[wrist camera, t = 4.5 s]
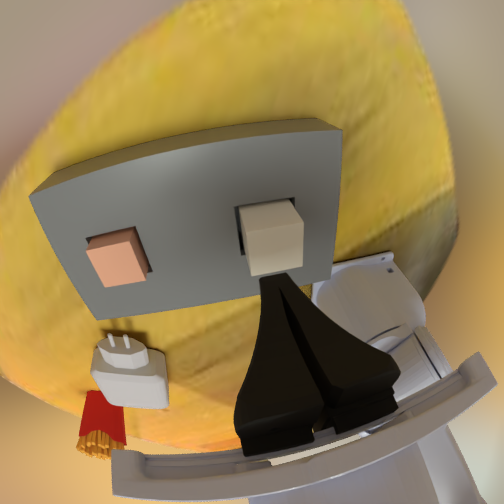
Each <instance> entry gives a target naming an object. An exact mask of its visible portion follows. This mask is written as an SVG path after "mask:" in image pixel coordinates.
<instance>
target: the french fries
mask: <svg viewBox="0 0 504 504" xmlns="http://www.w3.org/2000/svg"><path fill="white" fill-rule="evenodd" d="M79 436H80V438H79V441H78V444H77V446H76V448H77V450H78V451H80V452H81V453H85V454H86V455H87V456H89V457H92V456H96V458H99V459H101V458H102V459H103V460H105V458H106V459H111V450H112V449H120V450H124V445H127V444H126V435H125V425H124V412H123V406H116V405H112V404H110V403H109V402H108V401H107V399H106V398H105V396H104V395H103V393H102V391H93V390H91V391H88V392H87V396H86V401H85V405H84V410H83V415H82V420H81V426H80V431H79Z"/></svg>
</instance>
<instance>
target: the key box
mask: <svg viewBox="0 0 504 504" xmlns="http://www.w3.org/2000/svg"><path fill="white" fill-rule="evenodd" d="M341 161H342V130H341V129H339V128H337V127H335V126H333V125H331V124H328V123H326V122H324V121H322V120H320V119H317V118H308V119H291V120H278V121H267V122H257V123H249V124H241V125H233V126H226V127H220V128H214V129H208V130H202V131H197V132H191V133H186V134H181V135H177V136H172V137H167V138H163V139H159V140H155V141H151V142H147V143H143V144H139V145H135V146H131V147H128V148H124V149H121V150H118V151H114V152H111V153H108V154H104V155H101V156H98V157H95V158H92V159H89V160H86V161H84V162H81V163H78V164H75V165H72V166H70V167H67V168H64V169H62V170H59V171H57V172H54V173H53V174H51V175H50V176H49V177H48V178H47V179H46V180H45V181H44V182H43V183H41V184H40V185H39V186H38V187H37V188H36V189H35V190H34V191H33V192H32V193H31V194H30V195H29V199H30V201H31V204H32V206H33V208H34V211H35V213H36V215H37V217H38V220H39V222H40V224H41V226H42V228H43V230H44V232H45V234H46V236H47V238H48V240H49V242H50V244H51V246H52V248H53V250H54V252H55V254H56V256H57V258H58V259H59V261H60V263H61V265H62V266H63V268H64V270H65V272H66V273H67V275H68V277H69V278H70V280H71V282H72V283H73V285H74V287H75V288H76V290H77V291H78V293H79V295H80V296H81V298H82V299H83V301H84V302H85V304H86V305H87V307H88V308H89V310H90V311H91V313H92V314H93V316H94V317H95V318H96V320H104V319H112V318H120V317H127V316H135V315H142V314H149V313H156V312H162V311H169V310H175V309H181V308H188V307H194V306H200V305H205V304H211V303H217V302H222V301H228V300H233V299H239V298H244V297H249V296H255V295H260V286H259V279H260V278H261V277H265V276H270V275H275V274H280V273H285V272H286V273H287V274H288V275H289V276H290V277H291V279H292V280H293V281H294V282H295V284H296V285H297V286H298V287H299V286H303V285H308V284H312V283H317V282H321V281H326V280H330V279H331V272H332V264H333V256H334V248H335V239H336V230H337V219H338V208H339V195H340V180H341ZM287 198H288V199H289V200H290V202H291V203H292V205H293V206H294V208H295V210H296V211H297V213H298V214H299V216H300V217H301V219H302V220H303V222H304V236H303V266H302V267H297V268H292V269H287V270H282V271H277V272H272V273H267V274H262V275H256V276H251V272H250V269H249V265H248V261H247V257H246V254H245V250H244V245H243V237H242V230H241V223H240V215H239V208H238V206H242V205H248V204H255V203H261V202H267V201H274V200H280V199H287ZM133 226H136V229H137V232H138V234H139V237H140V240H141V242H142V245H143V247H144V250H145V253H146V255H147V258H148V260H149V266H148V272H147V278H146V281H140V282H135V283H129V284H123V285H117V286H111V287H106V288H105V287H104V285H103V283H102V281H101V279H100V278H99V276H98V274H97V272H96V270H95V268H94V266H93V265H92V263H91V261H90V259H89V257H88V255H87V253H86V249H87V247H88V245H89V243H90V241H91V239H92V237H93V236H95V235H99V234H103V233H107V232H111V231H116V230H120V229H124V228H129V227H133Z"/></svg>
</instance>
